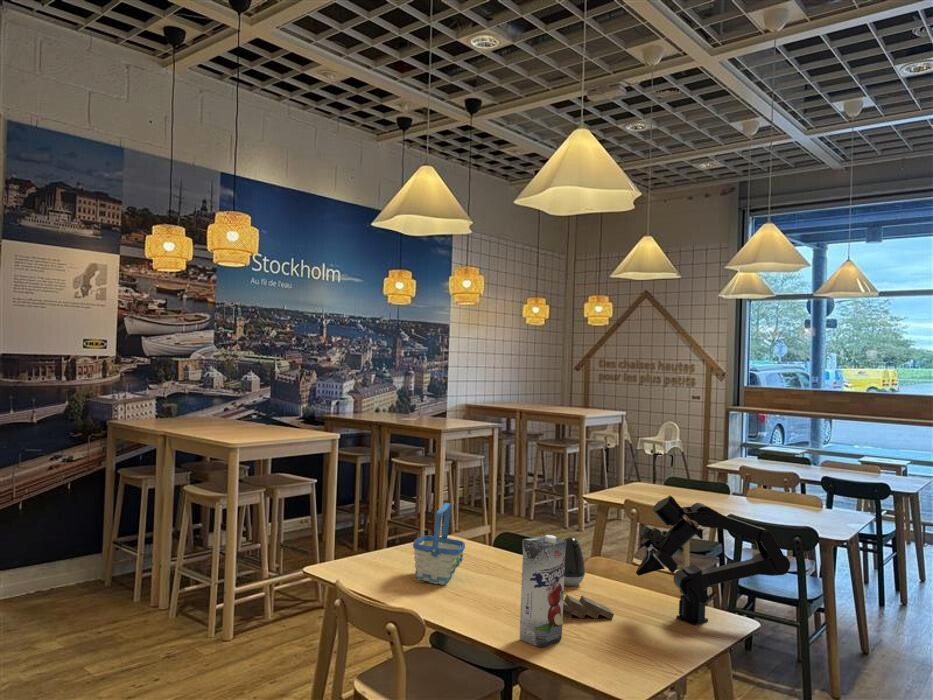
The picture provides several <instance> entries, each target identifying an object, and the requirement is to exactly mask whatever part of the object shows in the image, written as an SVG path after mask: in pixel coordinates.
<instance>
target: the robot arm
mask: <svg viewBox="0 0 933 700" xmlns="http://www.w3.org/2000/svg"><path fill="white" fill-rule="evenodd" d="M652 511H653V513H655V515H656V516H657V517H658V518H659V519H660V520H661V521H662V523H663V524H665V526H671V527H670V529H668V530H660V529H658V528H657V527H653V528H652V527H650V526H649V525H646V524H645V523H644V524H643V526H642V527H641V529H640V532H639V535H641V537H642V538H643V539H641V541H640V542H641V544H642V545H643V546H644V557H643V559H642V561H641V563H640V564H639V566H638V567H637V569H636V570H635V574H636V575H637V576H639V577H641V576H642V575H645V574H649V573H652V572H657V571H659V570H660V571H661V570H665V569H666V568H667V570H668V572H670V573H671V575H672V574H674V573H675V574H674V575H673V583H674V585H675V587H676V588H678V589H679V592H680V599H679V601H678V603H679V604H678V615H676V619H679V620H681V621H684V622H686V623H689V624H692V625H699V624H703V623H706V622H708V621H709V619H708V618H707V617H706V603H707V601H708V599H709V595H708V594H707V593H706V592H705V591H706V590H707V589H708V588H710V587H711V586H714V585H719V584H723V583H728V582H731V581H732V582H733V581H736V580H740V579H745V578H749V577H754V576H758V575H759V576H771V577H772V576H773V577H775V576H785V575H786V574H788V573H789V570H790V569H791V561H790V560H789V558H788V557H787V556H786V555H784V553H783V551H782V549H781V547H780V546H779V545H778V544H777V542H776V541H775V539H774V536H773V535H772V533H771V532H770V530H767V528H766V529H765V527H762V526H756V525H754V524H751V523H747V522H745V521H742V520H739V519H736V518H733V517H730V516H727V515H724V514H722V513H720V512H718V511H716V510H714V509H713V508H712V507H709V506H707V505H705V504H704V503H702V502H695V503H693V504H692V505H690V506H683V507H682V506H680V504H679V503H678V502H677V500H676V499H675V498H674V497H673V496H672V495H668V496H667V497H665V498H663V499H661V500H658V502H657V503H656V504H654V505H653V507H652ZM686 518H687V519H688V520H686ZM694 523H696V524H697V525H699V526H701V527H703V528H710V529H721V530H725V531H729V532H731V533H734V534H737V535H740V536H743V537H745V538H748V539H752V540H753V541H755V544H756V546H757V549H758V553H756V554H755V555H754V556H753V557H752V558H749V559H745V560H741V561H737V562H733V563H728V564H724V565H721V566H720V565H719V566H715V567H711V568H706V569H701V568H700V567H698V566H697V564H691V565H689V566H680V568H681V569H678V563H677V562H676V561H675V559H674V558H673V556H674V555H675V554H677V553H678V552H679V551H680V552H682V551H683V550H684V548H683V547H684V546H685V545H686V544H687V543H688V542H689V541H690V540H692V539H693V538H694V537H695V536H696V537H697V538H699V540H703V538H704V537H703V533H704V532H703V531H704V529H702V528H701V527H697V526H696V524H694ZM664 566H665V567H666V568H665V567H664Z"/></svg>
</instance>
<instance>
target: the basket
mask: <svg viewBox="0 0 933 700" xmlns="http://www.w3.org/2000/svg"><path fill="white" fill-rule="evenodd" d="M451 507H452V503H449V502H444V503H443V505H442V506H441V508H439V509H438V510H437V511H436V513H435V517H434V518H435V519H434V520H435V521H434V529H433V535H422V536H418V537H417V538H416V539H414V540H413V542H412V547H413V549H414V551H413V554H414V557H413V559H414V562H415V563H414V567H415V575H416V580H418V581H425V582H429V583H431V584H435V585H442V586H443V585H447V584H448V583H449V581H450V578H452V575H454V574H455V572H456V569H457V568H458V567H460V564H462V562H463V560H464V553H463V552H464V550H465V548H466V543H465V542H464V541H462V540H459V539H454V538H448V536H449V528H450V527H449V526H450V518H451V509H452V508H451ZM443 513H444V515H443ZM442 517H443V518H442ZM442 519H443V522H442ZM441 525H442V532H441ZM440 534H441V535H440Z"/></svg>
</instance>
